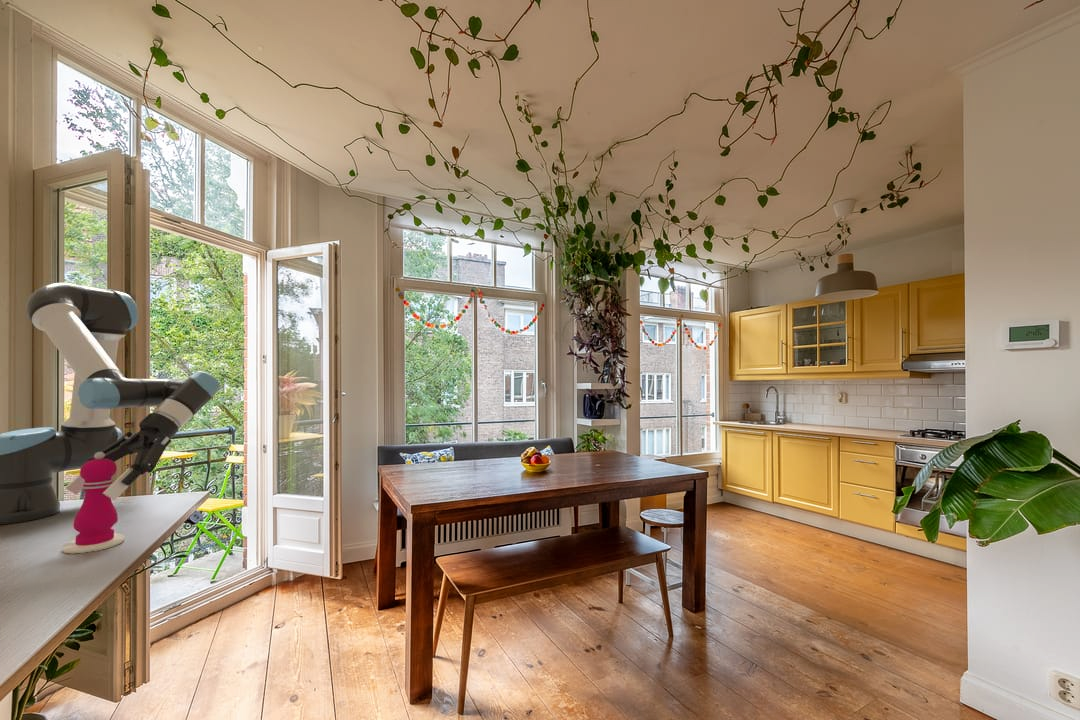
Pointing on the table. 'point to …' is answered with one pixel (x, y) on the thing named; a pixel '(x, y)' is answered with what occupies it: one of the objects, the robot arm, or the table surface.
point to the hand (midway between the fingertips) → (89, 494)
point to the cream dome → (74, 548)
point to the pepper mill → (96, 502)
